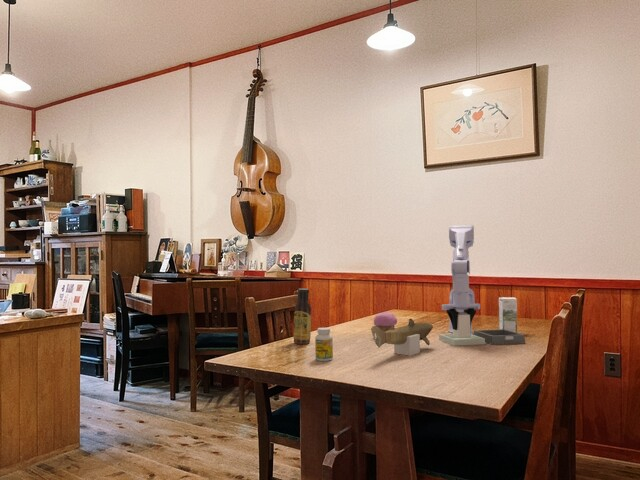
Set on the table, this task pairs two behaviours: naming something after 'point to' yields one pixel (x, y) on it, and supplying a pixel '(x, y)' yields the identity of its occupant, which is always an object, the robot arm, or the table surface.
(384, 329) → the cupcake
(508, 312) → the syrup box
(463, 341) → the tray
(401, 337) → the wood carving
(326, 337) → the supplement bottle
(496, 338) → the gray rectangular frame
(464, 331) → the module block
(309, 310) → the sauce bottle
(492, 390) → the table surface
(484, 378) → the table surface
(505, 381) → the table surface
